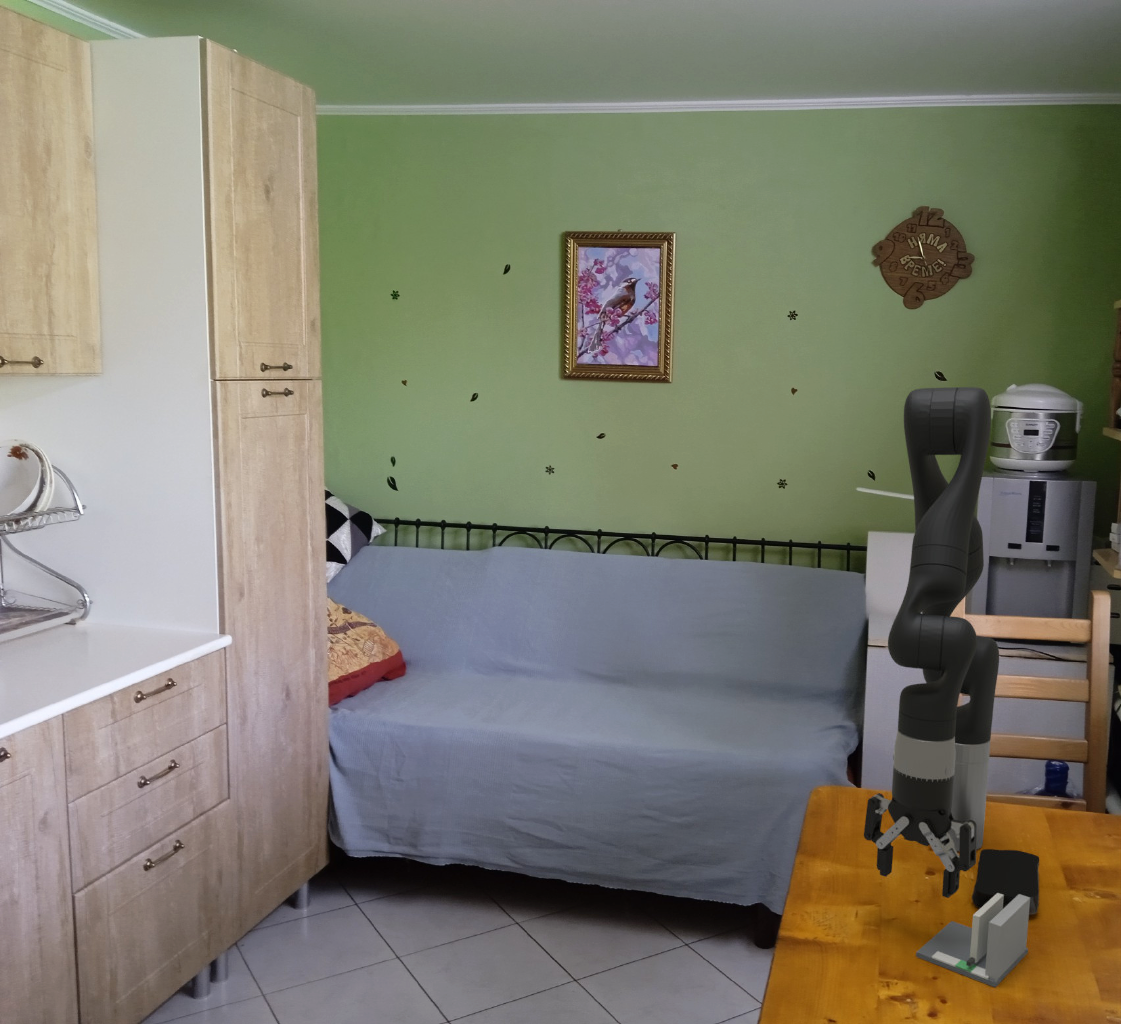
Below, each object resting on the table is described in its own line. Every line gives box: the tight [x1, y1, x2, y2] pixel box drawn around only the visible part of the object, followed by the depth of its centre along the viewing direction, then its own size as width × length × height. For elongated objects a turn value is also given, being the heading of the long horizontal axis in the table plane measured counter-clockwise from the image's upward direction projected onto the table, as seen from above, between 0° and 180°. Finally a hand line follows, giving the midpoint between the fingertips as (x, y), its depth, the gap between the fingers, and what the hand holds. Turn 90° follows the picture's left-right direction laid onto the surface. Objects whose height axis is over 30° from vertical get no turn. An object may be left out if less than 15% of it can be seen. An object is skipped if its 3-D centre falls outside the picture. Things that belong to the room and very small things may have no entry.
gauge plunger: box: [966, 893, 1004, 967], centre depth 138 cm, size 9×1×6 cm, turn 138°
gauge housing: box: [915, 894, 1030, 988], centre depth 139 cm, size 11×10×8 cm
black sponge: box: [971, 848, 1040, 916], centre depth 157 cm, size 16×8×4 cm, turn 156°
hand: (916, 884), depth 144 cm, fingers open, 8 cm apart
